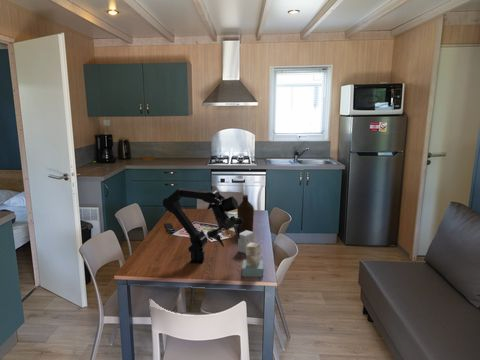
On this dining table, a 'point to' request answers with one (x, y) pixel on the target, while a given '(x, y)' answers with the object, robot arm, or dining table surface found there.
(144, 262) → the dining table surface
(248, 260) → the cream block
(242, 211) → the olive oil
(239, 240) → the small box
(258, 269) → the base block
